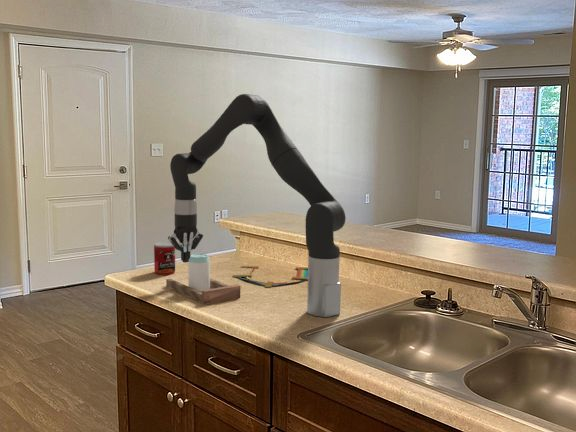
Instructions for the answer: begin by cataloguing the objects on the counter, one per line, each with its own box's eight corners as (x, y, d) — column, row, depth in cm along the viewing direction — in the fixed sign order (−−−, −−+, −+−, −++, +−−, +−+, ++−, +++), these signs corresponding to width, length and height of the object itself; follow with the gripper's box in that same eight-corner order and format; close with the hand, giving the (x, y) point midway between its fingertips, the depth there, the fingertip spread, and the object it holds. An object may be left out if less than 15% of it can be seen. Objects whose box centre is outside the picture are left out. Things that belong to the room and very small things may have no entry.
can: (214, 289, 207) (214, 255, 206) (200, 294, 202) (200, 258, 200) (198, 286, 211) (197, 252, 209) (184, 291, 205) (183, 255, 203)
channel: (240, 297, 199) (240, 285, 198) (205, 304, 191) (205, 291, 190) (199, 280, 219) (199, 269, 218) (166, 286, 211) (166, 274, 210)
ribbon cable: (308, 290, 210) (314, 269, 239) (308, 287, 210) (314, 266, 239) (224, 288, 213) (240, 267, 242) (224, 285, 213) (240, 264, 242)
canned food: (158, 276, 225) (158, 246, 223) (151, 271, 232) (151, 242, 230) (178, 273, 229) (178, 244, 227) (171, 269, 235) (170, 241, 234)
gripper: (173, 215, 203) (173, 266, 205) (208, 212, 211) (208, 261, 213) (162, 212, 208) (163, 262, 211) (197, 209, 217) (197, 257, 219)
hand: (185, 261), depth 212 cm, fingers closed
